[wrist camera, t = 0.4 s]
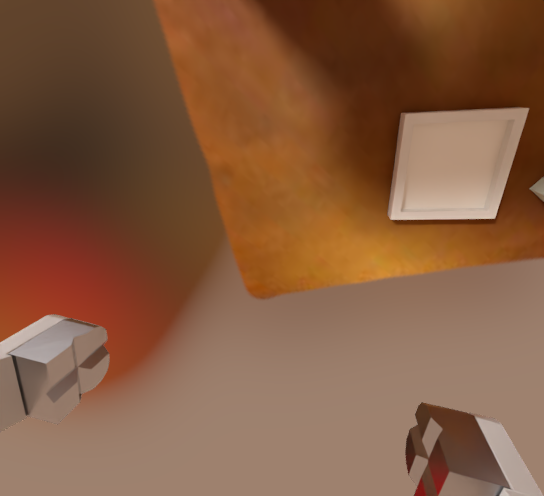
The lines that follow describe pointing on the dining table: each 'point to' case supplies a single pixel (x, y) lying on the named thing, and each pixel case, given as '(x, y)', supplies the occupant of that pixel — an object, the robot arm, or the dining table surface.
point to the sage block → (539, 188)
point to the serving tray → (453, 163)
